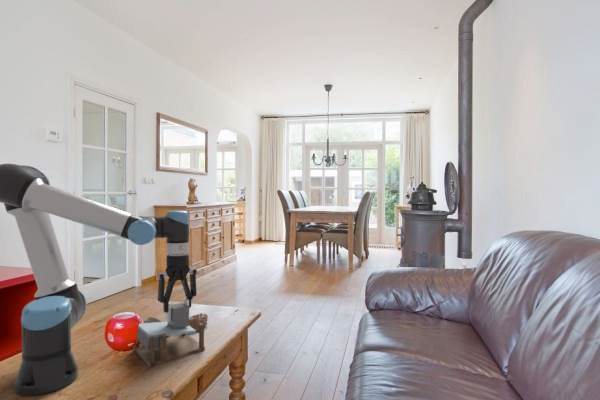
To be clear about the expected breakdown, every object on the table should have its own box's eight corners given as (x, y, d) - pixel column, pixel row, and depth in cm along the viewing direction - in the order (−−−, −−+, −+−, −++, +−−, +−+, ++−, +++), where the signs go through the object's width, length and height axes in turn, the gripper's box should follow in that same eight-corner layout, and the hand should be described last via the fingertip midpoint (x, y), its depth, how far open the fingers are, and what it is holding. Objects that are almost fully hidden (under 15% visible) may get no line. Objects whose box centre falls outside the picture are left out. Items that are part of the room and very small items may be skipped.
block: (173, 329, 124) (173, 309, 124) (167, 325, 128) (167, 305, 128) (188, 326, 127) (189, 306, 127) (182, 321, 131) (182, 302, 131)
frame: (150, 368, 113) (150, 339, 113) (132, 348, 127) (132, 323, 127) (206, 350, 126) (206, 325, 125) (184, 335, 139) (184, 311, 139)
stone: (171, 332, 145) (177, 316, 140) (166, 346, 139) (172, 330, 135) (145, 325, 143) (150, 308, 138) (139, 339, 137) (144, 322, 133)
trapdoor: (147, 349, 115) (149, 335, 115) (134, 336, 125) (136, 323, 125) (194, 343, 125) (196, 330, 126) (179, 332, 135) (180, 320, 135)
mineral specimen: (201, 330, 140) (192, 315, 140) (185, 340, 140) (176, 325, 141) (212, 319, 152) (204, 305, 152) (197, 328, 152) (189, 314, 153)
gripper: (154, 258, 118) (154, 328, 119) (207, 252, 131) (206, 315, 131) (146, 255, 124) (146, 322, 125) (197, 250, 136) (197, 310, 137)
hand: (177, 318), depth 128 cm, fingers open, 6 cm apart
